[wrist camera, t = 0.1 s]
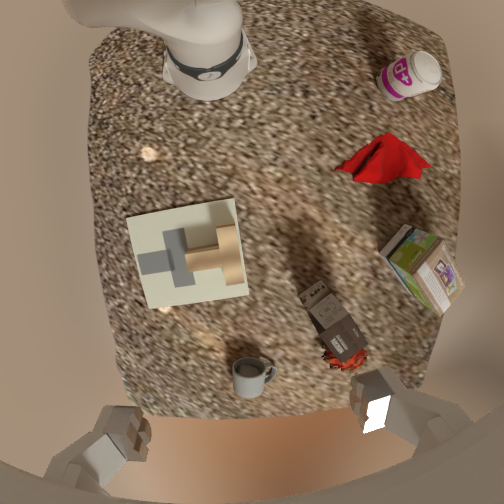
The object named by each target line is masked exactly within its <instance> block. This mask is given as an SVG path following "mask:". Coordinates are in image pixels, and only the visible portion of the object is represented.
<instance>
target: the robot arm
mask: <svg viewBox="0 0 504 504" xmlns="http://www.w3.org/2000/svg"><path fill="white" fill-rule="evenodd" d="M63 4H64V7H65V9H66V11H67V13H68V14H69V15H70V16H71V17H72V18H73V19H74V20H75V21H76V22H78V23H79V24H81V25H83V26H86V27H88V28H98V27H126V28H133V29H137V30H141V31H145V32H148V33H151V34H154V35H156V36H158V37H160V38H162V39H163V40H164V44H165V45H167V46H166V50H165V51H164V57H165V59H164V66H163V74H162V77H163V80H164V81H165V82H167V83H170V84H173V85H175V86H177V87H178V88H179V89H180V90H181V91H182V92H183V93H184V94H186V95H187V96H189V97H192V98H194V99H198V100H205V101H209V100H217V99H220V98H223V97H225V96H228V95H229V94H231V93H232V92H234V91H235V90H236V89H237V88H238V87H239V86H240V85H241V83H242V82H243V80H244V78H245V76H246V75H247V74H248V73H249V72H251V71H252V70H253V69H255V68H256V66H257V59H256V57H255V54H254V52H253V50H252V47H251V45H250V43H249V41H248V38H247V36H246V34H245V32H244V30H243V28H242V21H243V14H242V10H241V7H240V5H239V4H238V2H237V1H236V0H63ZM250 57H251V59H250ZM167 71H168V72H167ZM350 384H351V386H352V388H353V389H352V390H351V391H350V397H349V399H350V405H351V408H352V410H353V412H354V414H356V415H358V416H359V417H358V422H359V424H360V426H361V428H362V430H363V432H364V433H365V432H368V431H372V430H375V429H378V428H381V427H384V428H386V429H388V430H389V431H391V432H393V433H394V434H396V435H398V436H400V437H401V438H403V439H405V440H407V441H408V442H410V443H412V444H414V445H416V446H417V448H416V450H415V452H414V454H413V456H412V458H410V459H408V460H406V461H403V462H401V463H399V464H397V465H394V466H392V467H389V468H387V469H384V470H381V471H379V472H376V473H373V474H371V475H368V476H365V477H362V478H359V479H356V480H353V481H349V482H346V483H343V484H339V485H336V486H332V487H329V488H325V489H321V490H316V491H312V492H308V493H303V494H298V495H293V496H288V497H282V498H275V499H269V500H260V501H251V502H241V503H227V504H504V402H503V403H502V404H501V405H499V406H498V407H497V408H495V409H494V410H492V411H491V412H490V413H488V414H487V415H486V416H484V417H483V418H481V419H480V420H478V421H477V422H475V423H474V422H473V421H472V420H471V419H470V417H469V416H468V415H467V414H466V413H465V412H464V410H463V409H462V408H461V407H460V406H459V405H458V404H455V403H452V402H449V401H446V400H443V399H440V398H437V397H434V396H431V395H428V394H425V393H422V392H420V391H417V390H414V389H411V388H410V389H407V388H406V387H405V386H404V385H403V383H402V382H401V381H400V379H399V378H398V377H397V376H396V374H395V373H394V372H393V370H392V369H391V368H390V367H389V366H384V367H381V368H378V369H375V370H372V371H369V372H365V373H362V374H359V375H355V376H352V378H351V383H350ZM142 416H143V411H142V410H141V408H140V407H137V406H112V405H106V406H104V407H103V409H102V411H101V413H100V415H99V418H98V420H97V422H96V424H95V427H94V429H93V432H88V433H87V434H85V435H84V436H83V437H81V438H80V439H78V440H77V441H76V442H74V443H73V444H71V445H70V446H69V447H67V448H66V449H64V450H63V451H61V452H60V453H58V454H57V455H56V456H54V457H53V458H52V460H51V462H50V464H49V466H48V468H47V471H46V473H45V475H44V477H43V478H41V477H39V476H36V475H33V474H30V473H28V472H26V471H23V470H21V469H18V468H16V467H14V466H11V465H9V464H7V463H5V462H3V461H1V460H0V504H172V503H158V502H147V501H139V500H131V499H124V498H118V497H112V496H110V495H109V494H108V493H107V492H106V491H105V490H104V489H103V487H104V486H105V485H106V484H107V483H108V481H110V480H111V479H112V477H113V476H114V475H115V474H116V473H117V472H118V471H119V470H120V469H121V468H122V467H123V465H125V464H126V462H127V461H142V462H145V461H146V459H147V454H148V448H147V446H146V445H147V444H148V443H149V442H150V441H151V427H150V424H149V422H148V420H146V419H145V418H143V417H142Z"/></svg>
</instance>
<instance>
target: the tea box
mask: <svg viewBox="0 0 504 504" xmlns="http://www.w3.org/2000/svg"><path fill="white" fill-rule="evenodd" d="M379 254H380V256H381V257H382V258H383V260H384V261H385V262H386V264H387V265H388V266H389V268H390V269H391V270H392V271H393V273H394V274H395V275H396V277H397V278H398V279H399V281H400V282H401V283H402V285H403V286H404V287H405V289H406V290H407V291H408V292H409V293H410V294H411V295H412V296H414V297H415V298H416V299H418V300H419V301H420V302H421V303H423V304H424V305H425V306H426V307H428V308H429V309H430V310H432V311H433V312H434V313H435V314H437V315H438V316H441V315H442V314H443V313H444V312H445V310H446V309H447V308H448V307H449V306H450V305H451V303H452V302H453V301H454V300H455V299H456V297H457V296H458V295H459V294H460V292H461V291H462V290H463V288H464V287H465V286H466V282H465V280H464V278H463V276H462V274H461V272H460V270H459V268H458V266H457V264H456V262H455V260H454V258H453V256H452V255H451V253H450V251H449V249H448V247H447V245H446V244H445V242H444V240H443V239H441V238H439V237H436V236H434V235H432V234H429V233H427V232H424V231H422V230H419V229H417V228H414V227H412V226H409V225H407V224H404V225H403V226H402V227H401V229H400V230H399V231H398V232H397V233H396V234H395V235H394V237H393V238H392V239H391V240H390V241H389V242H388V243H387V245H386V246H385V247H384V248H383V249H382V250H381V251H380V252H379Z"/></svg>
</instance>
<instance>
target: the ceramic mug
mask: <svg viewBox="0 0 504 504" xmlns="http://www.w3.org/2000/svg"><path fill="white" fill-rule="evenodd" d="M267 367H272V371H271V374H270V376H268V377H267V378H265V375H266V368H267ZM232 371H233V388H234V391H235V393H236V394H237V395H238V396H239V397H241V398H244V399H253V398H256V397H258V396H259V395H261V393H262V391H263V389H264V384H266V383H269V382H270V381H272V380H273V379H274V377H275V376H276V373H277V368H276V367H275V366H274V365H273V364H272V363H264V362H263V361H262V360H260V359H258V358H254V357H243V358H240V359H238V360H236V361H235V362H234V364H233V367H232Z"/></svg>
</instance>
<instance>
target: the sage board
mask: <svg viewBox="0 0 504 504" xmlns="http://www.w3.org/2000/svg"><path fill="white" fill-rule="evenodd" d="M126 220H127V224H128V229H129V234H130V238H131V243H132V247H133V251H134V255H135V259H136V263H137V267H138V271H139V275H140V279H141V283H142V286H143V290H144V293H145V297H146V300H147V304H148V307H149V309H152V308H160V307H168V306H175V305H183V304H190V303H197V302H204V301H211V300H218V299H225V298H231V297H238V296H244V295H249V290H248V284H247V278H246V272H245V265H244V259H243V253H242V247H241V240H240V234H239V227H238V221H237V215H236V208H235V202H234V198H231V199H225V200H218V201H212V202H207V203H201V204H195V205H190V206H184V207H179V208H173V209H168V210H163V211H158V212H153V213H148V214H143V215H138V216H133V217H129V218H126ZM229 222H235V225H236V231H237V238H238V244H239V250H240V256H241V263H242V269H243V275H244V282H245V283H242V284H235V285H229V286H226V282H225V276H224V271H223V267H221V268H214V269H208V270H202V271H195V272H188V268H187V263H186V259H185V253H186V251H187V249H188V248H194V247H200V246H206V245H212V244H218V238H217V232H216V227H217V224H223V223H229Z"/></svg>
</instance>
